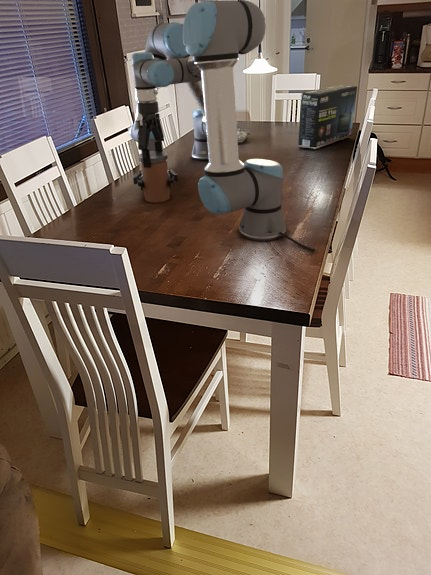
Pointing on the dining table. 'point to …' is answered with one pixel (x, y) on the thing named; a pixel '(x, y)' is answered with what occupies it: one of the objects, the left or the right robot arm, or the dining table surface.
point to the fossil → (242, 134)
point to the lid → (155, 156)
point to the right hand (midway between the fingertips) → (153, 162)
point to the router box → (326, 115)
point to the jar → (155, 182)
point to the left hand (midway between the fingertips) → (155, 185)
